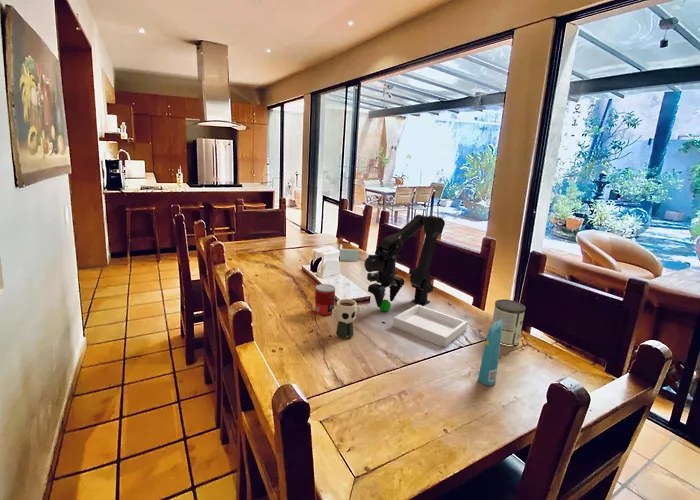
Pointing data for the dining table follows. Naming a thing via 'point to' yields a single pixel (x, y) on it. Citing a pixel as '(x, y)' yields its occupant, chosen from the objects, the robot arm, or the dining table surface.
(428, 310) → the white tray
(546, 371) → the dining table surface
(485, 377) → the tube
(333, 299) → the canned food
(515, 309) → the coffee can
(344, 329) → the character mug
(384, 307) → the polyhedron
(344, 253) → the l-shaped corner panel
